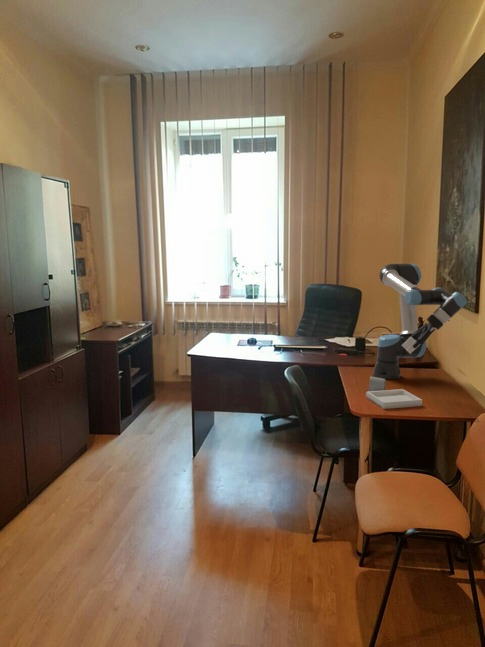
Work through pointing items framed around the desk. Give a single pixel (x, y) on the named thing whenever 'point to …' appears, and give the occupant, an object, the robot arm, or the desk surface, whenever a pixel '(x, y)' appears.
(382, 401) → the tray
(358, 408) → the desk surface
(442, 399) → the desk surface
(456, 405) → the desk surface
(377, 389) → the ceramic mug
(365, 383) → the desk surface
